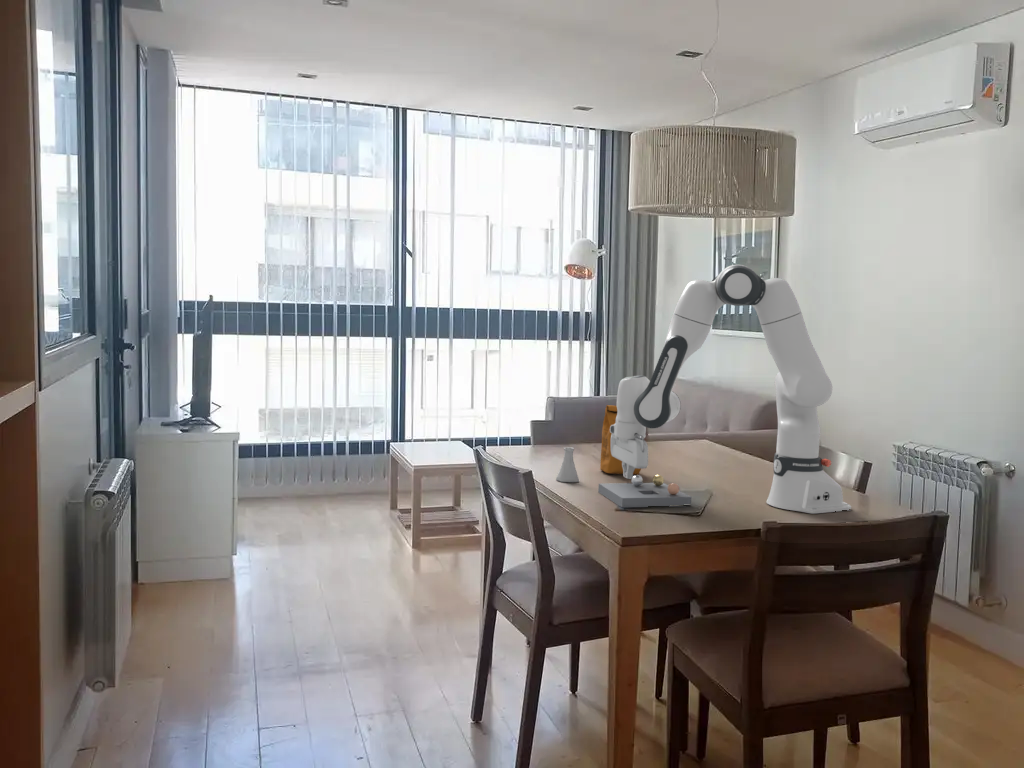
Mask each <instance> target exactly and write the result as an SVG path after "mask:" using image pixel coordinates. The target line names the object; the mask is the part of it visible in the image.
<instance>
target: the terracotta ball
mask: <svg viewBox="0 0 1024 768" xmlns="http://www.w3.org/2000/svg"><path fill="white" fill-rule="evenodd" d="M668 485H669V486H668V492H669V493H670V494H672V495H676V494H677V493H678V492H679V491H680V486H679V484H677V483H675V482H671V483H669V484H668Z"/></svg>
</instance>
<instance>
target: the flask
mask: <svg viewBox="0 0 1024 768" xmlns="http://www.w3.org/2000/svg"><path fill="white" fill-rule="evenodd" d="M563 450H564V454H563V455H564V456H563V459H562V462H561V465H560V468H559V470H558V473H557V475H556V477H555V480H556V481H558V482H561V483H577V482H580V479H579V475H578V472H577V469H576V464H575V461H574V451H575V447H570V446H569V447H568V446H566V447H563Z"/></svg>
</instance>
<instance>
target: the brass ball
mask: <svg viewBox="0 0 1024 768" xmlns="http://www.w3.org/2000/svg"><path fill="white" fill-rule="evenodd" d="M652 483H654V484H655V485H656V486H661V485H662V484H663V483H665V478H664V477H663V476H662V475H661V474H656V475H654V476H653V477H652Z"/></svg>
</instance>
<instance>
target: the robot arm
mask: <svg viewBox="0 0 1024 768" xmlns="http://www.w3.org/2000/svg"><path fill="white" fill-rule="evenodd" d="M725 305H729V306H737V307H742V306H743V307H744V306H752V308H753V309H754V310H755V313H756V314H757V318H758V321H759V324H760V327H761V330H762V333H763V336H764V340H765V344H766V347H767V349H768V351H769V354H770V355H771V357H772V359H773V361H774V363H775V365H776V368H777V370H778V372H777V374H776V375H775V377H774V387H775V397H776V400H775V401H776V403H775V404H776V414H777V435H776V450H775V451H776V452H775V453H774V454H773V455H774V457H773V467H772V468H773V477H772V482H771V487H770V490H769V493H768V496H767V500H766V504H767V505H769V506H772V507H774V508H777V509H778V508H779V509H783V510H788V511H789V510H790V511H796V512H802V513H807V514H825V513H826V514H827V513H833V512H835V511H836V512H843V511H842V510H847V511H850V510H849V509H851V510H852V505H851V504H849V503H847V502H845V501H843V500H844V497H843V494H844V493H843V490H842V489H843V488H842V487H841V485H840V484H839V483H838V482H837V481H836V480H835V479H833V477H831V476H830V475H829V474H828V473H827V472H825V470H824V466H825V467H827V468H829V467H830V466H831V465H832V461H831V459H827V458H823V459H822V457H820V456H819V454H820V453H819V451H820V441H821V440H820V437H821V425H820V423H819V416H818V407H820V406H823V405H824V404H825V403H826V402H828V400H829V399H830V398H831V396H832V393H833V384H832V380H831V379H830V377H829V376H828V373H826V372H827V371H826V370H825V368H824V365H823V363H822V361H821V359H820V357H819V354H818V353H817V350H816V348H815V347H814V345H813V343H812V341H811V338H810V334H809V331H808V329H807V326H806V323H805V322H806V321H805V320H804V316H803V313H802V310H801V307H800V304H799V302H798V299H797V297H796V295H795V292H794V291H793V288H792V287H791V286H790V284H789V282H788V281H787V280H786V279H783V278H780V277H774V278H773V277H771V278H769V279H763V278H762V277H760V276H759V275H758V274H757V273H756V272H755V271H754V270H753V269H751V268H750V267H748V266H746V265H743V264H731V265H729V266H726V267H724V268H723V269H722V270H721V272H719V273H718V274H717V275H716V277H714V278H713V279H712V280H711V281H709V280H705V279H694V280H691V281H689V282H688V283H687V284H686V286H685V287H684V289H683V290H682V293H680V297H679V299H678V301H677V303H676V305H675V308H674V311H673V314H672V315H671V319H670V323H669V326H668V330H667V333H666V337H665V341H664V344H663V346H662V350H661V354H660V356H659V359H658V360H657V363H656V366H655V369H654V370H653V372H652V376H651V378H650V379H648V377H647V376H645V375H641V374H640V375H632V376H631V375H630V376H626V377H624V378H623V377H622V379H621V380H620V381H619V383H618V388H617V393H616V394H617V395H616V405H615V406H617V416H616V423H615V424H614V425H611V426H610V433H612V434H611V454H612V456H613V457H615V458H617V459H619V460H621V461H622V467H623V474H622V475H623V478H626V479H627V480H632V477H633V476H634V474H633V472H634V470H635V468H638V469H641V470H643V469H647V468H648V466H649V446H648V443H647V441H646V440H645V439H646V437H647V435H646V432H647V428H648V429H658V428H660V427H662V426H664V425H665V424H666V423H669V422H670V421H673V420H674V419H675V418H676V417H677V416H678V415H679V413H680V411H681V407H682V405H681V404H682V403H681V399H680V397H679V395H678V394H677V393H676V392H674V391H673V389H674V386H675V384H676V381H677V378H678V375H679V374H680V370H681V368H682V366H683V365H684V364H685V362H686V361H687V360H688V358H690V357H691V356H692V355H693V354H694V353H695V352H697V351H699V349H701V347H703V345H704V343H705V341H706V339H707V337H708V335H709V333H710V331H711V328H712V325H713V323H714V319H715V318H716V317H715V316H716V315H717V312H718V311H719V310H720V308H721V307H723V306H725Z"/></svg>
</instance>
